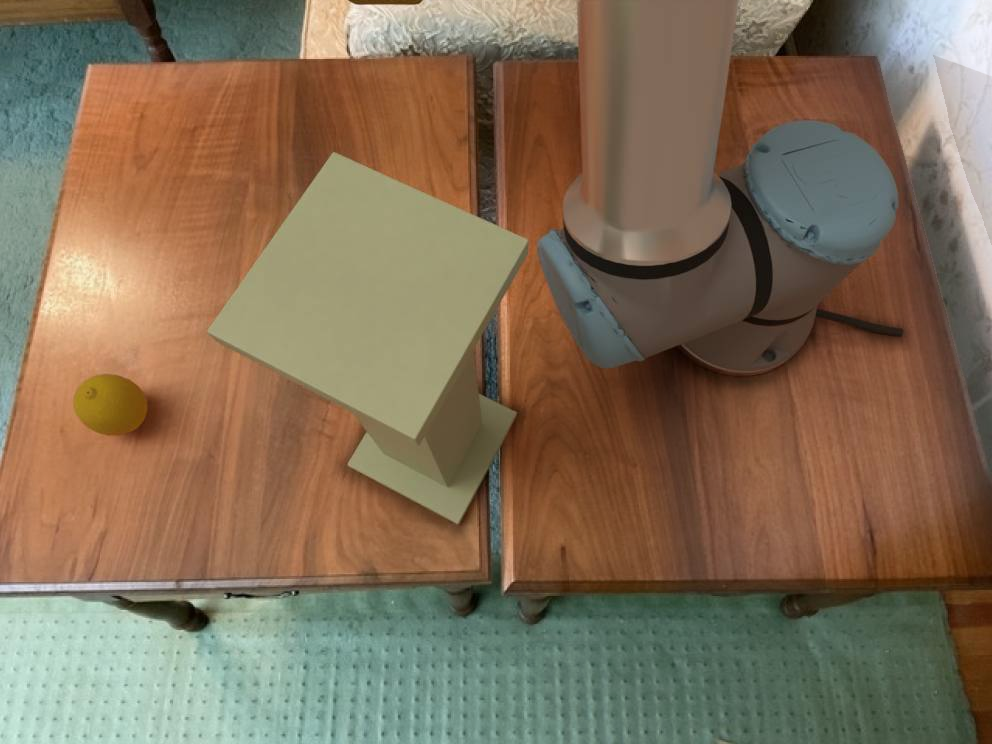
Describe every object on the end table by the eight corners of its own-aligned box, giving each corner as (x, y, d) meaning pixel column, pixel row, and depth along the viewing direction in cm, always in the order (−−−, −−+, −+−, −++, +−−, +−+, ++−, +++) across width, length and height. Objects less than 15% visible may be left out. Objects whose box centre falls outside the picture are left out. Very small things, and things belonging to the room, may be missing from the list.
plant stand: (517, 415, 68) (529, 239, 36) (458, 525, 65) (415, 440, 33) (411, 362, 70) (333, 150, 38) (348, 466, 67) (205, 331, 35)
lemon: (102, 446, 68) (51, 425, 60) (108, 391, 69) (60, 364, 62) (159, 442, 68) (116, 420, 60) (164, 388, 69) (122, 360, 62)
